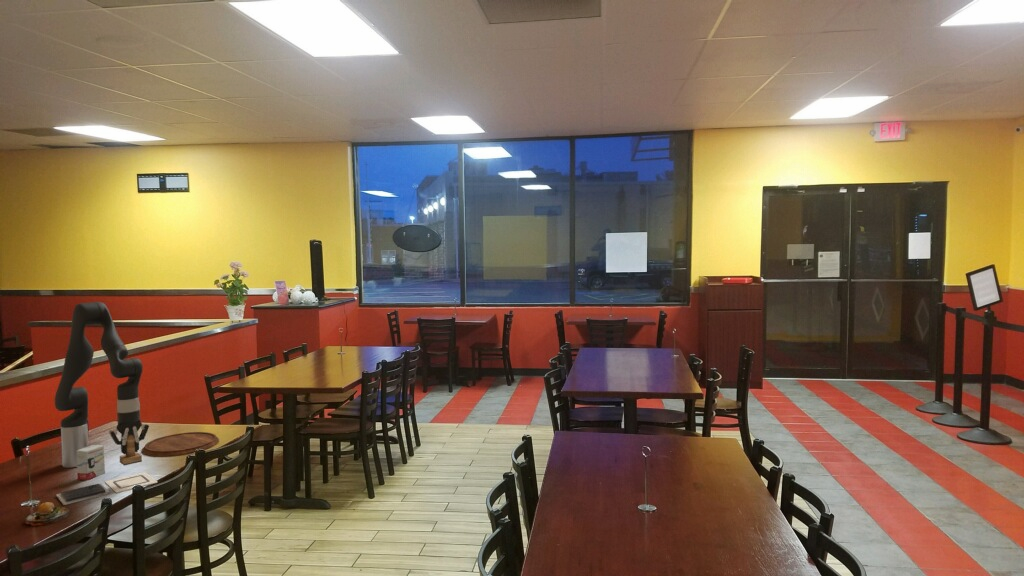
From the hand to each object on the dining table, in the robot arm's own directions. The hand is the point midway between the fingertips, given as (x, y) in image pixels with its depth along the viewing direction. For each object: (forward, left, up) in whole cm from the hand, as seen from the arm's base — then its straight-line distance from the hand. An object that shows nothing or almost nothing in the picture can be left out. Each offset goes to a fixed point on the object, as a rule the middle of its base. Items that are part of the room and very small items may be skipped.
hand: (130, 452), depth 234 cm
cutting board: (-36, +30, -13) cm, 49 cm away
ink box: (-20, -9, -12) cm, 25 cm away
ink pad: (+1, -16, -12) cm, 20 cm away
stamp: (0, 0, -4) cm, 4 cm away
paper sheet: (0, 0, -12) cm, 12 cm away
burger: (+16, -29, -13) cm, 35 cm away
